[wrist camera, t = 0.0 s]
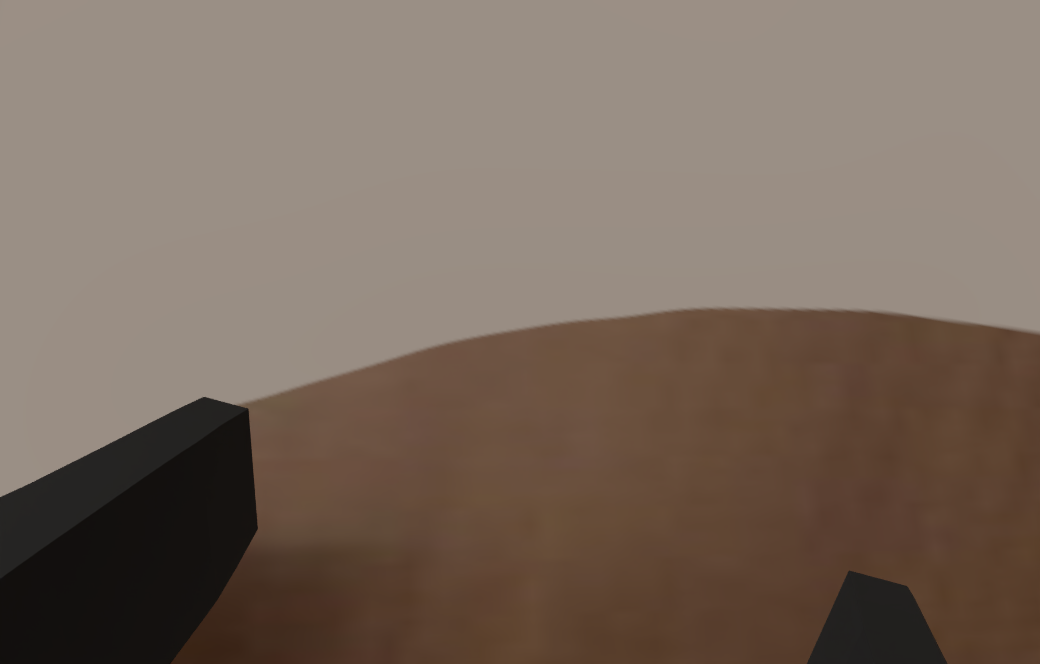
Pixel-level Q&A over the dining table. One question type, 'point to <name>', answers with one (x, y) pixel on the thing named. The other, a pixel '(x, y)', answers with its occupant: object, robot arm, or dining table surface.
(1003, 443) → the dining table surface
